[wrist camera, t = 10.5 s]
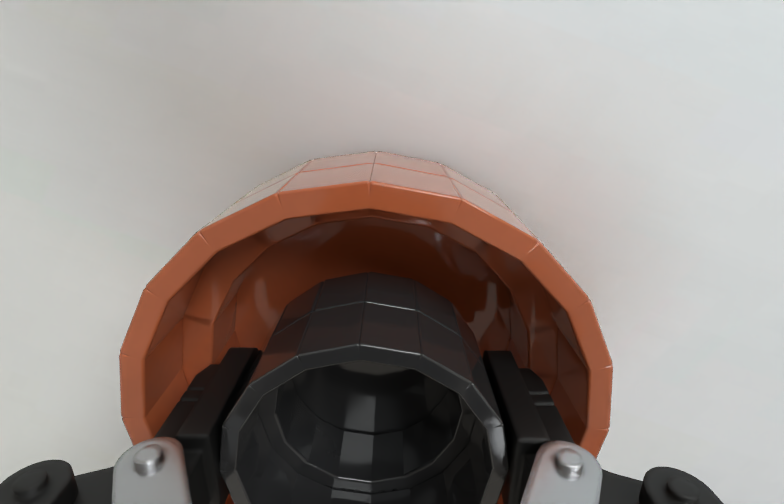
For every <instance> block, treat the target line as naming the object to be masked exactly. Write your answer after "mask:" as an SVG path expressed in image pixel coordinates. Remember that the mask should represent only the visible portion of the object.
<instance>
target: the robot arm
mask: <svg viewBox="0 0 784 504" xmlns="http://www.w3.org/2000/svg"><path fill="white" fill-rule="evenodd" d="M258 352H259V351H258V349H257V348H253V347H231V348H229V350H228V351H227V353H226V354H225V356H224V358H223V359H222V361H221V363H220V364H219V365H218V364H210V365H209V366H208V367H206V368H205V369H204V370H202V371H201V372H200V373H198V374H197V375H196V376H195V377H194V379H193V380H192V382H191V383H190V385H189V386H188V388H187V391H185V392H184V394H183V395H182V397H181V398H180V401H178V403H177V404H176V406H175V407H174V409H173V410H172V412H171V413H170V415H169V416H168V418H167V419H166V420H165V422H164V423H163V425H162V426H161V428H160V429H159V431H158V432H157V434H156V435H155V437H154V438H151V439H148V440H145V441H142V442H140V443H138V444H136V445H134V446H133V447H131V448H130V449H128V450H127V451H126V452H125V453H124V454H123V455H122V456H121V457H120V458H119V459H118V460H117V462H116V464H115V466H114V467H110V468H107V469H102V470H98V471H94V472H90V473H85V474H81V475H77V476H74V473H73V470H72V467H71V465H70V464H69V463H67V462H65V461H62V460H47V461H42V462H38V463H35V464H32V465H30V466H27V467H25V468H23V469H21V470H19V471H18V472H16V473H14V474H13V475H11V476H10V477H8V478H7V479H6V480H4V481H3V482H2V483H1V484H0V504H225V502H226V499H227V497H228V494H229V491H228V489H227V487H226V485H225V483H224V480H223V478H222V476H221V474H220V470H219V462H220V446H221V431H222V425H223V422H224V420H225V418H226V416H227V414H228V412H229V410H230V408H231V406H232V404H233V402H234V400H235V398H236V396H237V394H238V392H239V390H240V388H241V386H242V384H243V382H244V380H245V378H246V376H247V374H248V372H249V371H250V368H251V366H252V364H253V362H254V360H255V358H256V356H257V354H258ZM482 360H483V363H484V366H485V369H486V372H487V375H488V378H489V381H490V384H491V387H492V390H493V393H494V396H495V399H496V403H497V406H498V409H499V412H500V415H501V418H502V421H503V424H504V430H505V436H506V443H507V450H508V456H509V463H510V468H509V472H508V475H507V478H506V480H505V483H504V486H503V488H502V491H501V495H502V499H503V502H504V504H723V503H722V502H721V500H720V499H719V498H718V497H717V496H716V495H715V494H714V492H713V491H712V490H711V489H710V488H709V487H708V486H706V485H705V484H704V483H703V482H701V481H700V480H699V479H697V478H695V477H694V476H692V475H690V474H688V473H686V472H684V471H681V470H678V469H674V468H670V467H655V468H652V469H650V470H649V471H647V473H646V474H645V476H644V479H643V481H640V480H636V479H632V478H628V477H625V476H621V475H617V474H614V473H611V472H608V471H606V470H603V469H602V468H601V466H600V464H599V462H598V461H597V459H596V458H595V457H594V456H593V455H592V454H591V453H590V452H588V451H587V450H585V449H584V448H582V447H580V446H578V445H576V444H575V443H574V441H573V439H572V437H571V435H570V433H569V431H568V429H567V427H566V425H565V423H564V421H563V419H562V417H561V415H560V413H559V411H558V409H557V407H556V406H555V405H554V401H553V399H552V398H551V396H550V395H549V392H548V390H547V388H546V386H545V384H544V382H543V380H542V379H541V378H540V377H539V376H538V375H537V374H535V373H534V372H533V371H532V370H531V369H530V368H518V366H517V364H516V361H515V359H514V357H513V355H512V353H511V351H487V350H485V351H484V353H483V359H482Z"/></svg>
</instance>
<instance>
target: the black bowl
mask: <svg viewBox="0 0 784 504" xmlns="http://www.w3.org/2000/svg"><path fill="white" fill-rule="evenodd" d="M509 468H510V463H509V456H508V450H507V443H506V436H505V430H504V424H503V421H502V418H501V415H500V412H499V409H498V406H497V403H496V399H495V396H494V393H493V390H492V387H491V384H490V381H489V378H488V375H487V372H486V369H485V366H484V363H483V360H482V357H481V354H480V350H479V347H478V344H477V341H476V338H475V335H474V333H473V332H472V330H471V329H470V327H469V326H468V324H467V323H466V322H465V320H464V319H463V317H462V316H461V315H460V313H459V312H458V310H457V309H456V308H455V306H454V305H453V303H451V302H450V301H449V300H448V299H446V298H444V297H443V296H441V295H439V294H438V293H436V292H434V291H433V290H431V289H429V288H428V287H426V286H424V285H423V284H421V283H419V282H418V281H416V280H413V279H411V278H405V277H399V276H393V275H388V274H382V273H376V272H368V273H367V272H363V273H358V274H353V275H348V276H342V277H337V278H332V279H327V280H325V281H324V282H323V281H322V282H320V283H318V284H317V285H315V286H313V287H312V288H310V289H309V290H307V291H306V292H304V293H303V294H301V295H300V296H298V297H296V298H295V299H293V300H292V301H290V302H289V304H287V305H286V306H285V308H284V309H283V311H282V312H281V314H280V315H279V317H278V318H277V320H276V322H275V323H274V325H273V326H272V328H271V329H270V331H269V333H268V334H267V336H266V338H265V340H264V342H263V344H262V346H261V348H260V350H259V352H258V354H257V356H256V358H255V360H254V362H253V364H252V366H251V368H250V371H249V372H248V374H247V376H246V378H245V380H244V382H243V384H242V386H241V388H240V390H239V392H238V394H237V396H236V398H235V400H234V402H233V404H232V406H231V408H230V410H229V412H228V414H227V416H226V418H225V420H224V422H223V425H222V431H221V446H220V462H219V470H220V474H221V476H222V478H223V480H224V483H225V485H226V487H227V489H228V491H229V493H230V496H231V498H232V500H233V502H234V504H497V502H498V499H499V497H500V494H501V491H502V488H503V486H504V483H505V480H506V478H507V475H508V472H509Z"/></svg>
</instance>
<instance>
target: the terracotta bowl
mask: <svg viewBox="0 0 784 504" xmlns="http://www.w3.org/2000/svg"><path fill="white" fill-rule="evenodd" d="M363 272H367V273H368V272H376V273H382V274H388V275H393V276H399V277H405V278H411V279H413V280H416V281H418V282H419V283H421V284H423V285H424V286H426V287H428V288H429V289H431V290H433V291H434V292H436V293H438V294H439V295H441V296H443V297H444V298H446V299H448V300H449V301H450V302H451V303H453V305H454V306H455V308H456V309H457V310H458V312H459V313H460V315H461V316H462V317H463V319H464V320H465V322H466V323H467V324H468V326H469V327H470V329H471V330H472V332H473V333H474V335H475V338H476V341H477V344H478V347H479V350H480V354H481V357H482V359H483V353H484V351H485V350H487V351H511V353H512V355H513V357H514V359H515V361H516V364H517V366H518V368H530V369H531V370H532V371H533V372H534V373H535V374H537V375H538V376H539V377H540V378H541V379H542V380H543V382H544V384H545V386H546V388H547V390H548V392H549V395H550V396H551V398H552V399H553V401H554V405H555V406H556V407H557V409H558V411H559V413H560V415H561V417H562V419H563V421H564V423H565V425H566V427H567V429H568V431H569V433H570V435H571V437H572V439H573V441H574V443H575V444H576V445H578V446H580V447H582V448H584V449H585V450H587V451H588V452H590V453H591V454H592V455H593V456H594V457H595V458H597V455H598V453H599V451H600V449H601V447H602V444H603V442H604V440H605V438H606V436H607V433H608V431H609V429H608V428H609V427H610V410H611V392H612V374H613V366H612V360H611V357H610V354H609V351H608V349H607V346H606V343H605V340H604V337H603V334H602V331H601V329H600V326H599V323H598V320H597V317H596V314H595V312H594V309H593V306H592V303H591V301H590V300H589V298H588V296H587V295H586V293H585V292H584V291H583V290H582V289H581V288H580V287H579V285H578V284H577V283H576V282H575V281H574V280H573V279H572V277H571V276H570V275H569V274H568V273H567V272H566V271H565V269H564V268H563V267H562V266H561V265H560V264H559V263H558V261H557V260H556V259H555V258H554V257H553V256H552V255H551V253H550V252H549V251H548V250H547V249H546V248H545V247H544V245H543V244H542V243H541V242H540V241H539V240H538V239H537V238H536V237H535V236H534V234H533V233H532V232H531V231H530V230H529V229H528V228H527V227H526V226H525V225H524V224H523V223H522V222H521V221H520V220H519V219H518V218H517V216H516V215H515V214H514V213H513V212H512V211H511V210H510V209H509V208H508V207H507V206H506V205H505V204H504V203H503V201H502V200H501V199H500V198H499V197H498V196H497V195H495V194H494V193H493V192H491V191H489V190H488V189H486V188H484V187H482V186H481V185H479V184H477V183H475V182H473V181H472V180H470V179H468V178H466V177H465V176H463V175H461V174H459V173H457V172H456V171H454V170H452V169H450V168H449V167H447V166H445V165H442V164H441V165H440V164H439V163H438V162H432V161H427V160H422V159H417V158H412V157H406V156H401V155H396V154H391V153H385V152H380V151H379V152H377V153H376V152H374V151H372V152H364V153H356V154H349V155H341V156H333V157H326V158H318V159H314V160H309V161H307V162H305V163H303V164H301V165H299V166H297V167H295V168H293V169H291V170H289V171H287V172H285V173H283V174H281V175H279V176H277V177H275V178H273V179H271V180H269V181H267V182H265V183H262V184H260V185H258V186H257V187H256V188H254V189H253V190H251V191H250V192H249V193H247V194H246V195H245V196H243V197H242V198H241V199H239V200H238V201H237V202H235V203H234V204H233V205H231V207H229V208H228V209H226V210H225V211H224V212H223V213H221V214H220V215H219V216H217V217H216V218H215V219H213V220H212V221H211V222H209V223H208V224H207V225H205V226H204V227H203V228H201V229H200V230H199V231H197V232H196V233H195V234H194V235H193V236H192V237H191V238H190V239H189V241H188V242H187V243H186V244H185V245H184V246H183V247H182V248H181V249H180V250H179V251H178V252H177V253H176V254H175V255H174V256H173V257H172V258H171V259H170V261H169V262H168V263H167V264H166V265H165V266H164V267H163V268H162V269H161V270H160V271H159V272H158V273H157V274H156V275H155V276H154V277H153V278H152V279H151V280H150V282H149V283H148V284H147V285H146V288H145V289H144V290H143V292H142V295H141V297H140V300H139V303H138V305H137V308H136V310H135V313H134V316H133V318H132V321H131V323H130V326H129V329H128V331H127V334H126V336H125V339H124V341H123V344H122V347H121V349H120V355H119V361H120V391H121V416H122V417H123V418H122V420H123V423H124V425H125V427H126V430H127V432H128V434H129V437H130V439H131V441H132V444H133V446H134V445H136V444H138V443H140V442H142V441H145V440H148V439H151V438H154V437H155V435H156V434H157V432H158V431H159V429H160V428H161V426H162V425H163V423H164V422H165V420H166V419H167V418H168V416H169V415H170V413H171V412H172V410H173V409H174V407H175V406H176V404H177V403H178V401H180V398H181V397H182V395H183V394H184V392H185V391H187V388H188V386H189V385H190V383H191V382H192V380H193V379H194V377H195V376H196V375H197V374H198V373H200V372H201V371H202V370H204V369H205V368H206V367H208V366H209V365H210V364H218V365H219V364H220V363H221V361H222V359H223V358H224V356H225V354H226V353H227V351H228V350H229V348H231V347H253V348H257V349H258V351H259V350H260V348H261V346H262V344H263V342H264V340H265V338H266V336H267V334H268V333H269V331H270V329H271V328H272V326H273V325H274V323H275V322H276V320H277V318H278V317H279V315H280V314H281V312H282V311H283V309H284V308H285V306H286V305H287V304H289V302H290V301H292V300H293V299H295V298H296V297H298V296H300V295H301V294H303V293H304V292H306V291H307V290H309V289H310V288H312V287H313V286H315V285H317V284H318V283H320V282H322V281H323V282H324V281H325V280H327V279H332V278H337V277H342V276H348V275H353V274H358V273H363ZM225 504H234V502H233V500H232V498H231V496H230V493H229V494H228V497H227V499H226V502H225ZM497 504H504V502H503V499H502V495H501V494H500V497H499V499H498V502H497Z"/></svg>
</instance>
